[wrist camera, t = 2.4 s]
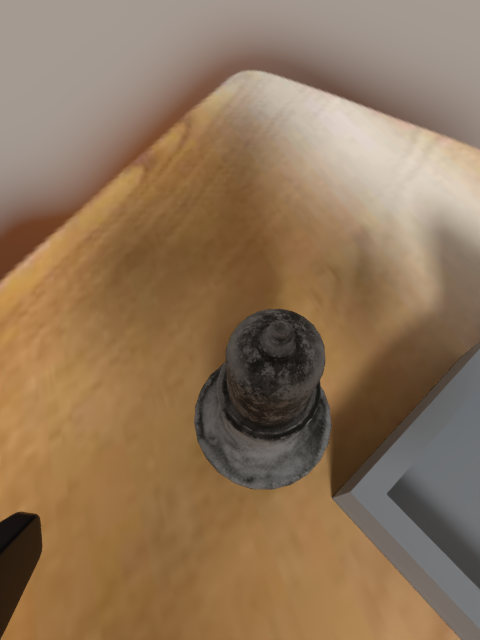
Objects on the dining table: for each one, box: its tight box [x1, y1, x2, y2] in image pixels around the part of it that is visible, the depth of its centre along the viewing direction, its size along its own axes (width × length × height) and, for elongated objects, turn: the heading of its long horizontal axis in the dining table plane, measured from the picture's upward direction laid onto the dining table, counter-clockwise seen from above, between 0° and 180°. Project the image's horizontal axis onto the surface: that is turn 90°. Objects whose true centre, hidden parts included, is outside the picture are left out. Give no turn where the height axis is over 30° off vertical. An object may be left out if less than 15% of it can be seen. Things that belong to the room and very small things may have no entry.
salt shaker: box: [194, 309, 331, 489], centre depth 15 cm, size 6×6×12 cm
